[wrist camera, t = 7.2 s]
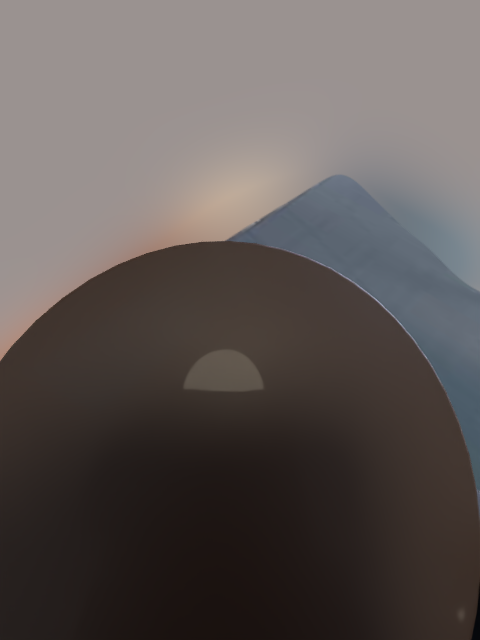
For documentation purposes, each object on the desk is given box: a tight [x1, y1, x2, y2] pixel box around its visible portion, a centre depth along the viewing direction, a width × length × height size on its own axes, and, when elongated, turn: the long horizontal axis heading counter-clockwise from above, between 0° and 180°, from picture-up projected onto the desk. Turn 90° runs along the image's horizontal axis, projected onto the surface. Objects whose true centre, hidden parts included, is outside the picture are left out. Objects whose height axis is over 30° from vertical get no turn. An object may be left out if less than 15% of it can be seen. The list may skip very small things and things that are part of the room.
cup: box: [0, 241, 480, 640], centre depth 9 cm, size 7×7×12 cm
